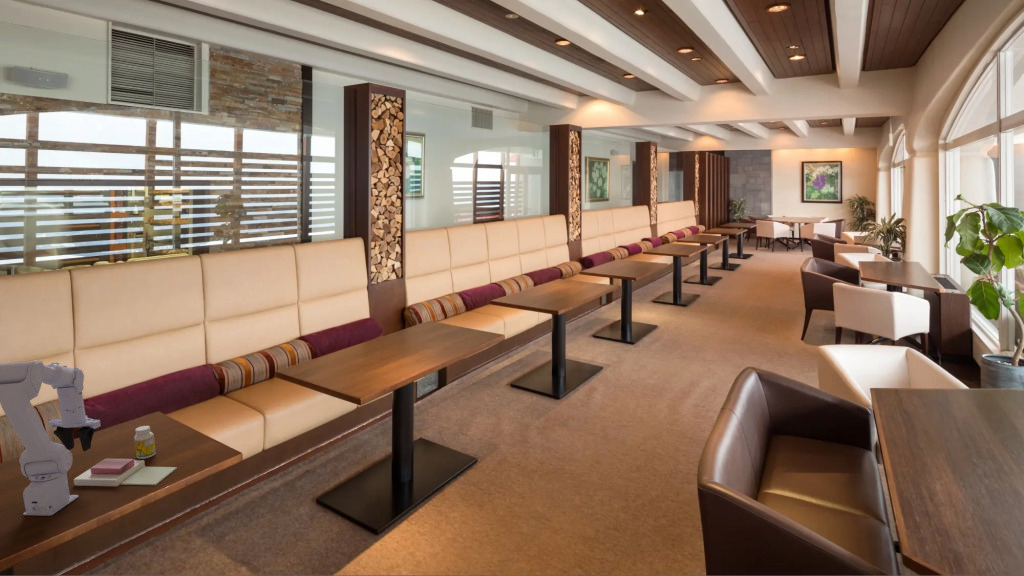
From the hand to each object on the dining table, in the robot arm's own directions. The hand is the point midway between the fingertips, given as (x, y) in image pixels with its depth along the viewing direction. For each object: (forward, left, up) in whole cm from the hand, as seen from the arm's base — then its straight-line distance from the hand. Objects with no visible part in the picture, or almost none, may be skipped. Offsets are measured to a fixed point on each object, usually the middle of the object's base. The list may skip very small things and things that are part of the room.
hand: (78, 449), depth 171 cm
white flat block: (0, -9, -8) cm, 12 cm away
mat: (0, -21, -8) cm, 23 cm away
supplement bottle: (+13, -11, -9) cm, 19 cm away
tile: (0, -10, -5) cm, 11 cm away
